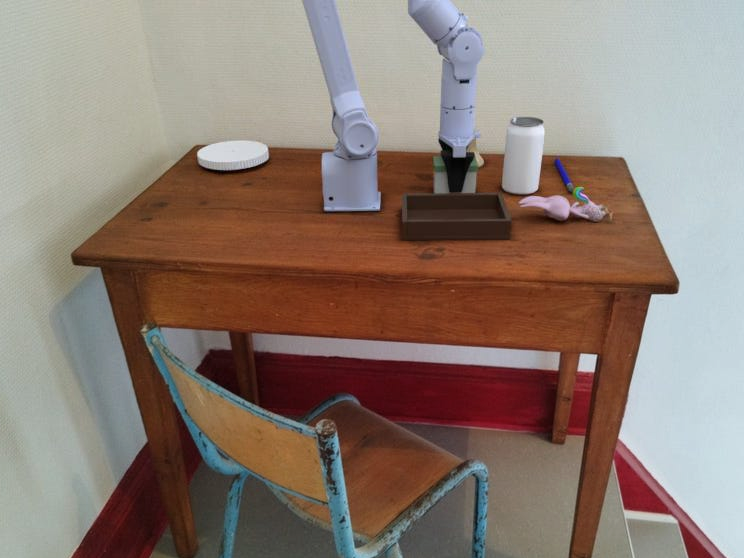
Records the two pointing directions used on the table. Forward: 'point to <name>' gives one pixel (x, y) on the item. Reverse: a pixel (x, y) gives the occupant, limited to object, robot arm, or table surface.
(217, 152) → the plastic lid
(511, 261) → the table surface
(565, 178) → the pencil
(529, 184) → the can
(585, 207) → the rabbit figure
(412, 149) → the table surface
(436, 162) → the container
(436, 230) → the tray
